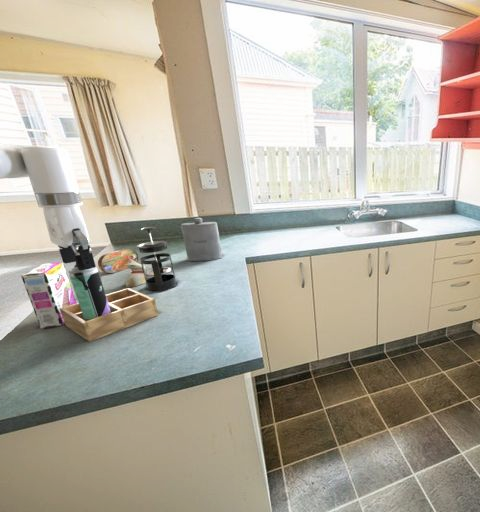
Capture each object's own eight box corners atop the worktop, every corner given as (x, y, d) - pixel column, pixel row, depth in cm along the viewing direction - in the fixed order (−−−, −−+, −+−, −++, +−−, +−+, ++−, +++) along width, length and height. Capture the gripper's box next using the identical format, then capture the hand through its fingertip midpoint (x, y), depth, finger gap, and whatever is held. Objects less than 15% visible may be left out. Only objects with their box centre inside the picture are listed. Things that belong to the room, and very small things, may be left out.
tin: (105, 276, 122) (99, 256, 119) (99, 275, 122) (93, 256, 120) (140, 264, 136) (136, 246, 133) (135, 263, 136) (130, 246, 134)
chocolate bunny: (152, 281, 116) (146, 257, 113) (127, 288, 110) (120, 263, 107) (146, 278, 119) (140, 255, 116) (122, 285, 113) (115, 260, 110)
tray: (89, 341, 78) (83, 323, 76) (65, 325, 86) (59, 308, 84) (158, 315, 92) (154, 298, 90) (133, 303, 99) (128, 287, 98)
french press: (148, 284, 114) (133, 226, 107) (177, 279, 119) (165, 223, 112) (145, 295, 105) (128, 232, 98) (177, 289, 110) (163, 229, 102)
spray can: (116, 327, 84) (95, 260, 77) (89, 335, 80) (65, 265, 74) (113, 320, 87) (92, 256, 81) (87, 327, 83) (64, 260, 77)
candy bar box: (64, 325, 86) (44, 272, 81) (40, 329, 83) (18, 275, 78) (80, 309, 95) (63, 261, 90) (58, 312, 93) (40, 263, 88)
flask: (186, 262, 139) (177, 220, 133) (189, 258, 144) (181, 217, 138) (221, 259, 143) (214, 218, 137) (223, 255, 149) (217, 216, 142)
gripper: (25, 198, 73) (47, 263, 78) (50, 204, 65) (73, 276, 70) (67, 195, 79) (84, 256, 85) (95, 201, 72) (112, 267, 77)
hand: (79, 265), depth 77 cm, fingers open, 9 cm apart
